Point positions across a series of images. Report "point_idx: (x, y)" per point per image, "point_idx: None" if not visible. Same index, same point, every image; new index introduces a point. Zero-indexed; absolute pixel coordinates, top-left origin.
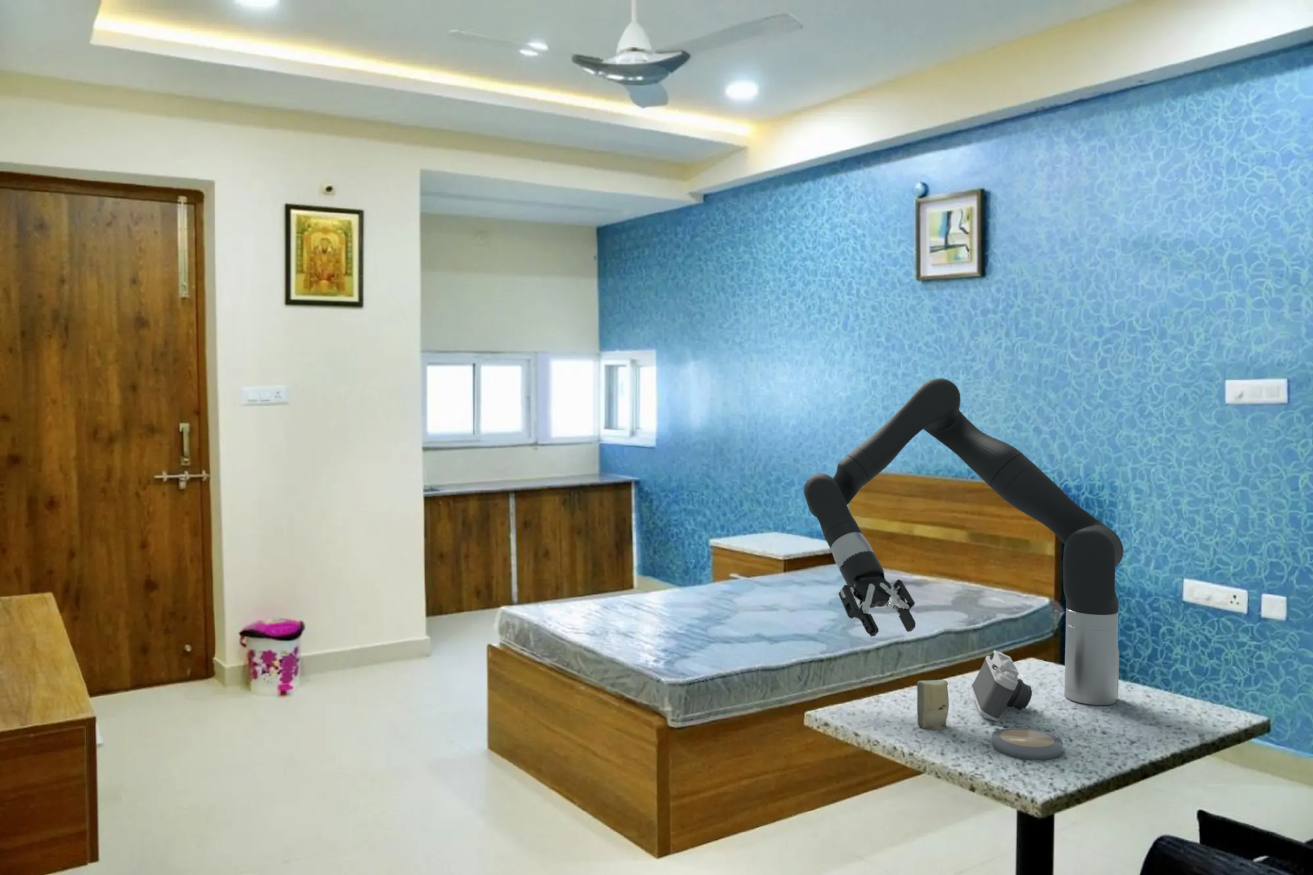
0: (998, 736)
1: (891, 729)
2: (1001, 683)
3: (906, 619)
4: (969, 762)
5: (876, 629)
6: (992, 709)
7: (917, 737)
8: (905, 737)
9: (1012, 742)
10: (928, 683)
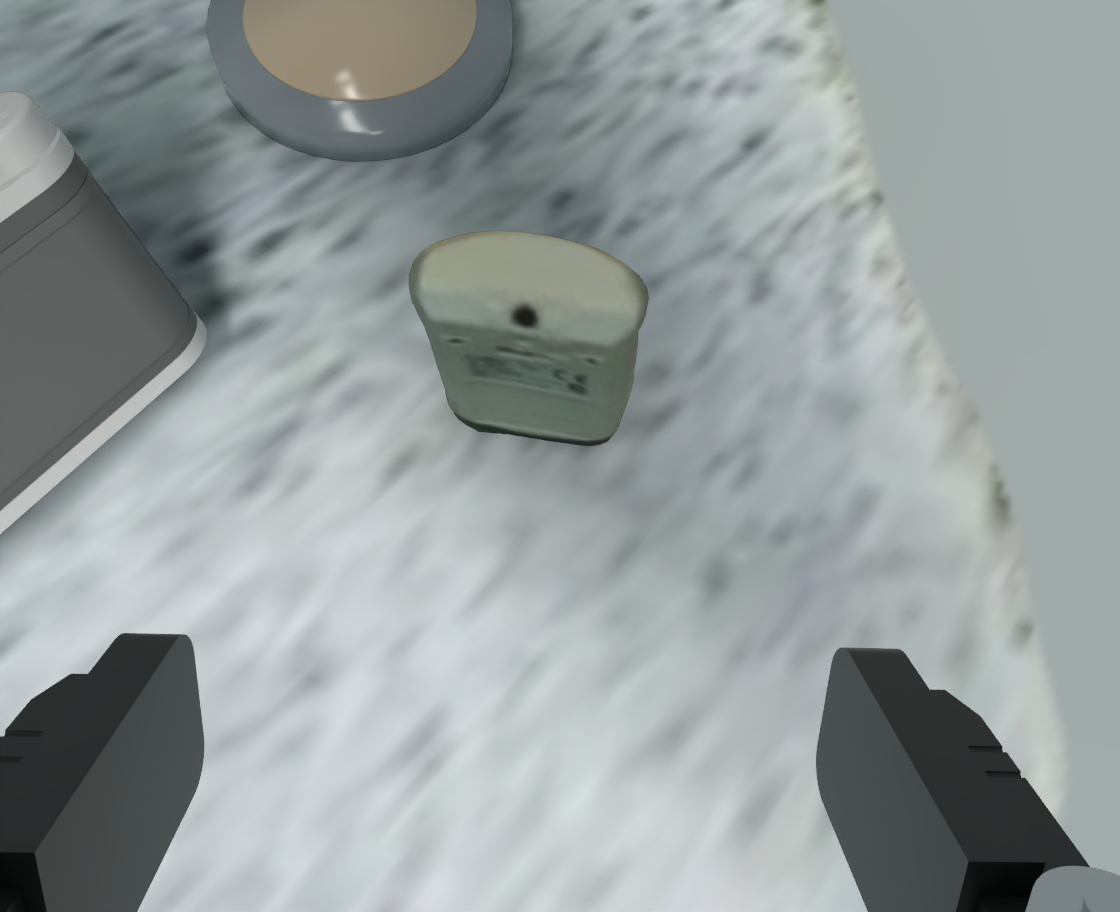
0: (450, 77)
1: (781, 464)
2: (67, 143)
3: (127, 784)
4: (713, 43)
5: (883, 649)
6: (168, 281)
7: (726, 321)
8: (784, 345)
9: (465, 4)
10: (597, 254)
